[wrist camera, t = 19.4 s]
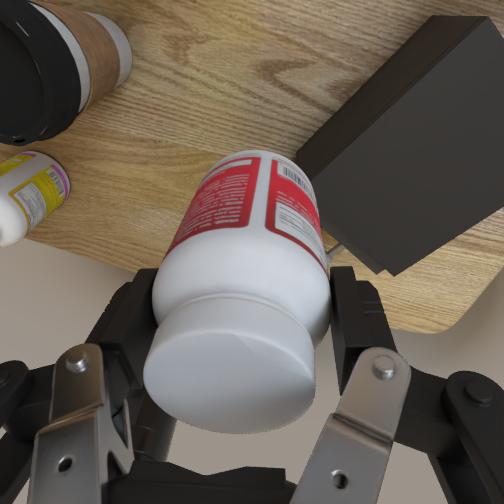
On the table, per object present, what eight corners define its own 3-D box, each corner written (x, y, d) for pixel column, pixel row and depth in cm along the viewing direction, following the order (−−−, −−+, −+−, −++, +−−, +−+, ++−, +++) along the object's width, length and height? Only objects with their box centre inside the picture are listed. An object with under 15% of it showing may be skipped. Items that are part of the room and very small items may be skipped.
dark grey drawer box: (372, 224, 40) (394, 277, 32) (296, 151, 36) (298, 191, 28) (509, 122, 32) (581, 157, 24) (432, 14, 28) (489, 15, 20)
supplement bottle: (7, 180, 40) (-91, 239, 30) (23, 136, 37) (-80, 186, 27) (61, 213, 42) (-13, 279, 32) (81, 174, 39) (6, 234, 29)
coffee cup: (80, 106, 35) (-32, 158, 22) (38, 5, 30) (-133, 1, 18) (158, 93, 33) (84, 141, 21) (126, -15, 29) (7, -34, 16)
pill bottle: (194, 238, 20) (115, 427, 11) (207, 133, 16) (106, 283, 7) (297, 260, 20) (306, 463, 11) (332, 162, 17) (387, 341, 8)
